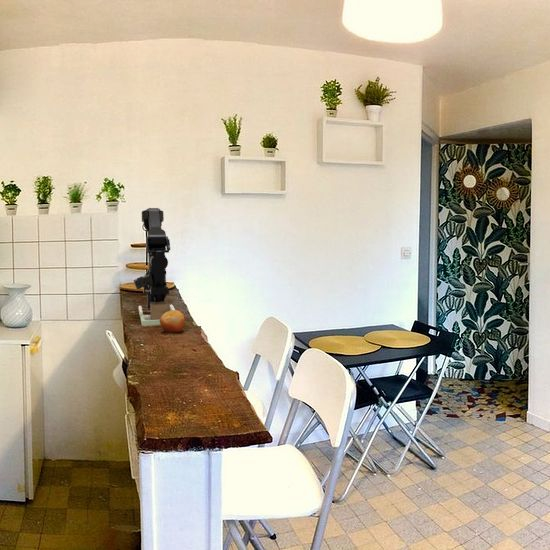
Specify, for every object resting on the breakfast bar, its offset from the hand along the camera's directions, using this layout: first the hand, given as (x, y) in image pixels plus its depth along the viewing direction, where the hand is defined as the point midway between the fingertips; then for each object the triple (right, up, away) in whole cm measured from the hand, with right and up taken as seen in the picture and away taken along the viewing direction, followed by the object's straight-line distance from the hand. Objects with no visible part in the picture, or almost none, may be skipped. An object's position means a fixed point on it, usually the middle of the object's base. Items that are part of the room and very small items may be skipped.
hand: (158, 310), depth 187 cm
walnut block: (+1, -3, -5) cm, 6 cm away
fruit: (+9, -6, -19) cm, 22 cm away
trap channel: (-1, -3, +3) cm, 4 cm away
